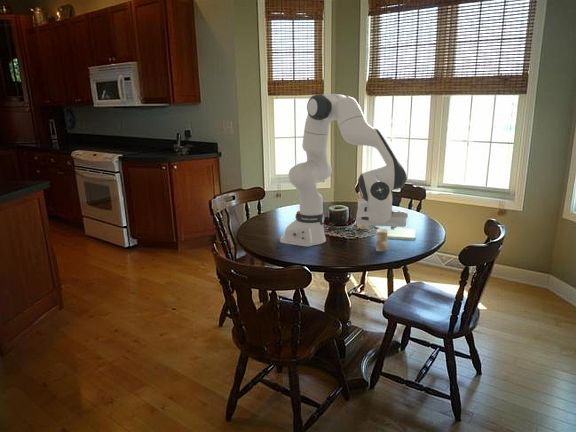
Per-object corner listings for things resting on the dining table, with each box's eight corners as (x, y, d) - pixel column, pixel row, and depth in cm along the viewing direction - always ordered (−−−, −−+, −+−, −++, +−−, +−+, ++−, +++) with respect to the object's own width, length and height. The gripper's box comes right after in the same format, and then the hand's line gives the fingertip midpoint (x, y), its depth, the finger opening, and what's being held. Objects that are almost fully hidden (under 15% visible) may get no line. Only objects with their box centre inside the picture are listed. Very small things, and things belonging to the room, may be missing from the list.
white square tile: (385, 238, 207) (385, 235, 207) (386, 229, 220) (386, 227, 220) (415, 240, 203) (415, 237, 203) (414, 231, 216) (414, 228, 216)
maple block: (376, 250, 191) (376, 232, 189) (376, 247, 195) (377, 229, 193) (386, 251, 190) (387, 232, 187) (386, 248, 194) (387, 229, 192)
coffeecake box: (363, 220, 236) (363, 186, 231) (375, 221, 234) (376, 187, 228) (356, 228, 223) (357, 192, 218) (370, 229, 220) (371, 193, 215)
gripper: (408, 205, 165) (406, 222, 177) (355, 203, 171) (357, 219, 182) (407, 219, 162) (406, 235, 174) (354, 217, 168) (356, 232, 179)
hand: (381, 227), depth 178 cm, fingers open, 8 cm apart
